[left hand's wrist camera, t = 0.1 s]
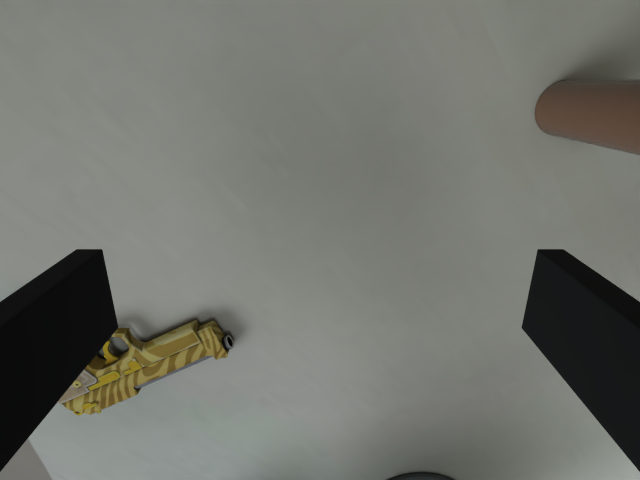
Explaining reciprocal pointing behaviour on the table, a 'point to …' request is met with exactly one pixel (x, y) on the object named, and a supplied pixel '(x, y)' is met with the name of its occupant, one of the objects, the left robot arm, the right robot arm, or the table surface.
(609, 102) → the jar
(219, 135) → the table surface
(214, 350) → the handgun
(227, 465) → the table surface
